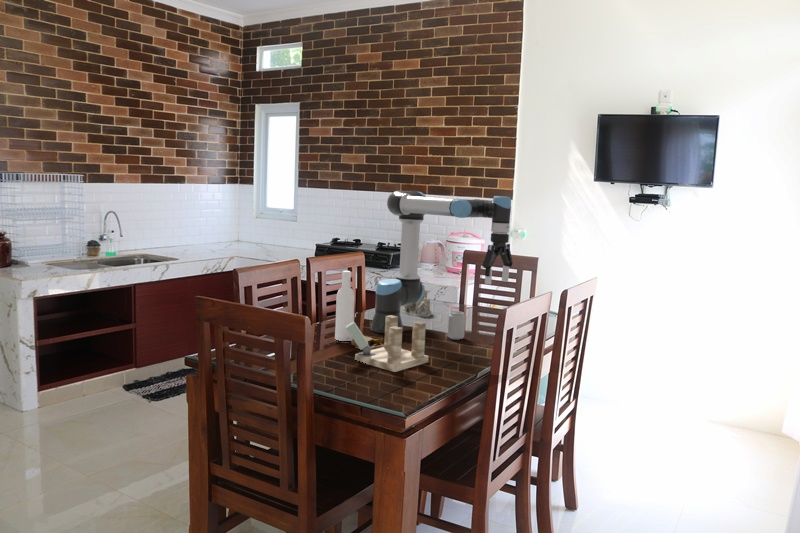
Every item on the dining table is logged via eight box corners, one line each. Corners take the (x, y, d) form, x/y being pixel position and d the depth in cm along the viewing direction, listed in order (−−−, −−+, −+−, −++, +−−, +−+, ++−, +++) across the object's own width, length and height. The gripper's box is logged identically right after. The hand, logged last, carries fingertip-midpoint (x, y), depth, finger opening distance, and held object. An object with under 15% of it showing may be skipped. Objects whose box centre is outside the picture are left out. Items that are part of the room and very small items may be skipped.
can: (463, 340, 285) (464, 314, 283) (446, 339, 286) (447, 312, 285) (464, 337, 292) (466, 311, 291) (448, 335, 294) (449, 309, 292)
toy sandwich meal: (374, 354, 257) (374, 342, 256) (346, 348, 263) (346, 337, 263) (389, 347, 268) (390, 336, 267) (362, 342, 274) (363, 331, 274)
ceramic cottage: (402, 309, 349) (404, 282, 346) (432, 312, 347) (435, 285, 344) (398, 316, 334) (400, 288, 331) (429, 320, 332) (432, 292, 329)
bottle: (330, 339, 276) (333, 270, 272) (344, 337, 281) (347, 269, 277) (343, 343, 270) (346, 273, 266) (357, 340, 276) (359, 271, 272)
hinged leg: (364, 356, 244) (346, 328, 242) (364, 353, 247) (346, 325, 245) (372, 351, 244) (353, 323, 242) (372, 349, 247) (353, 321, 245)
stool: (354, 360, 245) (356, 320, 243) (389, 351, 261) (391, 314, 259) (394, 372, 233) (396, 330, 231) (428, 362, 248) (430, 322, 246)
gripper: (491, 234, 259) (488, 286, 262) (522, 232, 278) (519, 281, 281) (476, 233, 264) (472, 283, 267) (507, 231, 283) (504, 278, 285)
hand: (496, 282), depth 274 cm, fingers open, 13 cm apart
